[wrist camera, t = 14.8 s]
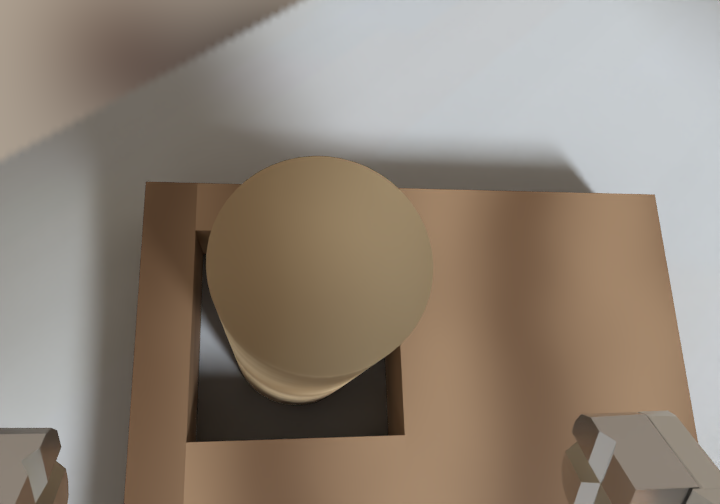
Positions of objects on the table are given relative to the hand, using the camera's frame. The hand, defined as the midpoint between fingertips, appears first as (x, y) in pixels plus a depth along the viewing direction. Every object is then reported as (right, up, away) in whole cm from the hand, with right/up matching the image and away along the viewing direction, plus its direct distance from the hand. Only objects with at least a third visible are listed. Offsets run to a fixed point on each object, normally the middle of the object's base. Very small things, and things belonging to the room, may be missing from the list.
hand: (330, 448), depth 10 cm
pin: (-2, 0, +11) cm, 11 cm away
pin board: (+2, -2, +11) cm, 11 cm away
